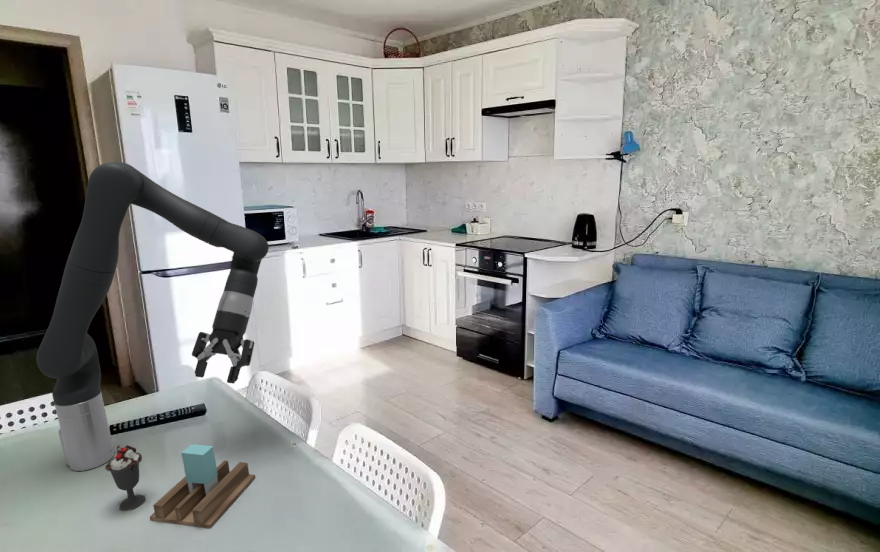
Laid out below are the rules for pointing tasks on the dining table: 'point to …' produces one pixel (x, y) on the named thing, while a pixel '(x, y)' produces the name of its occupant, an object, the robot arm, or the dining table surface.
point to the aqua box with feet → (200, 467)
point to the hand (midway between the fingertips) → (214, 380)
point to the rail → (203, 498)
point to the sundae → (126, 475)
